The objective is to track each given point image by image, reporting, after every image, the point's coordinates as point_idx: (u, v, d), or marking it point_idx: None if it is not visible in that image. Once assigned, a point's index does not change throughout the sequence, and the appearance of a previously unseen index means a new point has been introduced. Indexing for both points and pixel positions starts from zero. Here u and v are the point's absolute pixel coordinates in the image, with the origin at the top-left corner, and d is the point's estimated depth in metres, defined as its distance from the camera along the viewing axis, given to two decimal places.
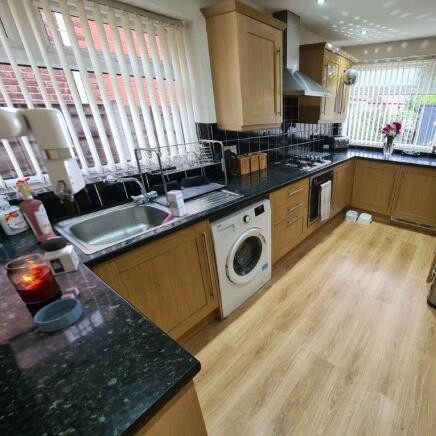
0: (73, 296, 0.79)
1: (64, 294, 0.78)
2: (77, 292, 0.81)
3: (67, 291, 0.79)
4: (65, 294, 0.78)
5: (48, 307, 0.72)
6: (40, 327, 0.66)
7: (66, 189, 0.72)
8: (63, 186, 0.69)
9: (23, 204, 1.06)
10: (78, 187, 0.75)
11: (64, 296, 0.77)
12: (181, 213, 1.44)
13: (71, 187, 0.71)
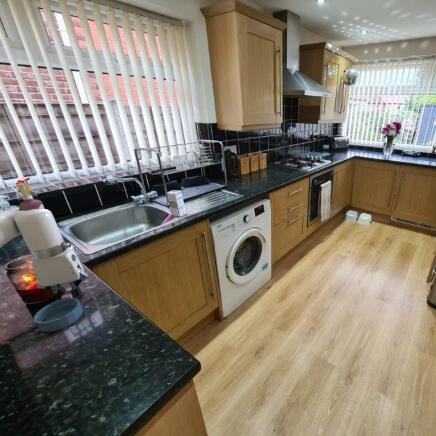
0: None
1: (64, 294, 0.78)
2: None
3: (67, 291, 0.79)
4: (65, 294, 0.78)
5: (48, 307, 0.72)
6: (40, 327, 0.66)
7: None
8: (39, 284, 0.74)
9: (23, 204, 1.06)
10: (52, 282, 0.74)
11: (64, 296, 0.77)
12: (181, 213, 1.44)
13: (38, 281, 0.73)
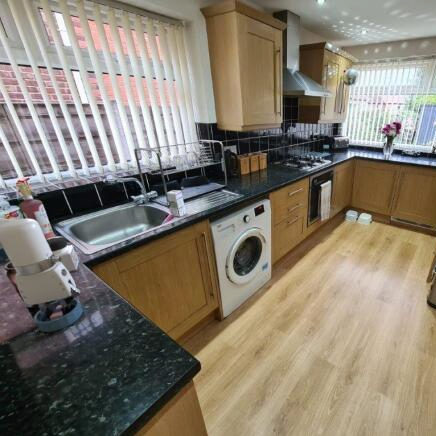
0: None
1: (54, 312, 0.70)
2: None
3: (57, 309, 0.71)
4: (54, 313, 0.70)
5: None
6: (40, 327, 0.66)
7: None
8: None
9: (23, 204, 1.06)
10: (40, 300, 0.66)
11: (53, 315, 0.69)
12: (181, 213, 1.44)
13: None
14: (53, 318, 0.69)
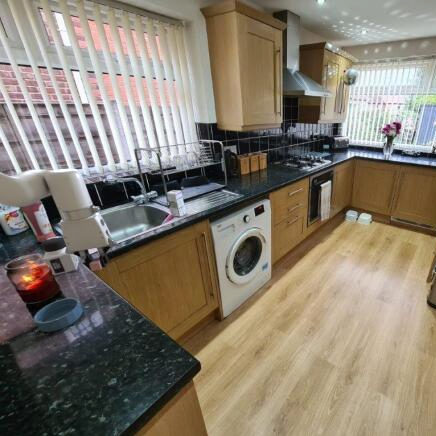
0: None
1: (92, 261, 0.75)
2: None
3: (95, 258, 0.77)
4: (93, 261, 0.75)
5: (48, 307, 0.72)
6: (40, 327, 0.66)
7: None
8: (68, 249, 0.72)
9: None
10: (81, 247, 0.72)
11: (92, 263, 0.75)
12: (181, 213, 1.44)
13: (66, 246, 0.70)
14: (92, 265, 0.74)
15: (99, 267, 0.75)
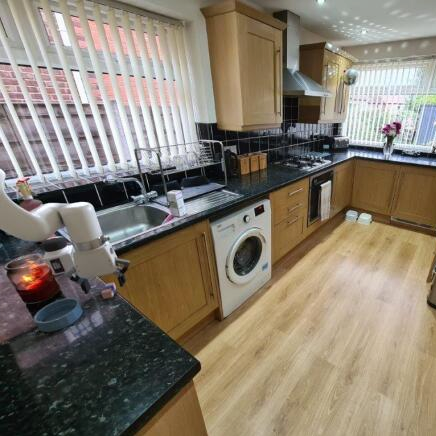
0: (112, 291, 0.81)
1: (104, 289, 0.80)
2: (115, 287, 0.83)
3: (106, 286, 0.81)
4: (104, 290, 0.80)
5: (48, 307, 0.72)
6: (40, 327, 0.66)
7: None
8: (73, 270, 0.75)
9: (23, 204, 1.06)
10: (91, 274, 0.76)
11: (104, 291, 0.79)
12: (181, 213, 1.44)
13: (77, 273, 0.74)
14: (104, 294, 0.79)
15: (110, 295, 0.80)
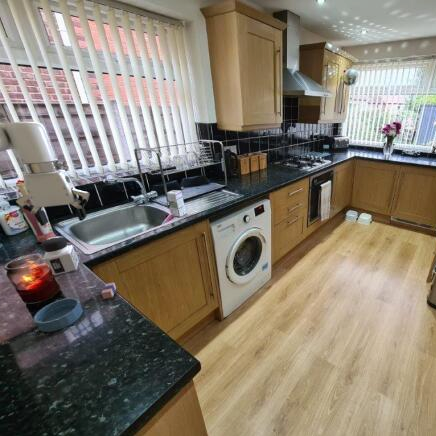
0: (112, 291, 0.81)
1: (104, 289, 0.80)
2: (115, 287, 0.83)
3: (106, 286, 0.81)
4: (104, 290, 0.80)
5: (48, 307, 0.72)
6: (40, 327, 0.66)
7: None
8: (25, 197, 0.71)
9: None
10: (46, 202, 0.72)
11: (104, 291, 0.79)
12: (181, 213, 1.44)
13: (30, 200, 0.71)
14: (104, 294, 0.79)
15: (110, 295, 0.80)
